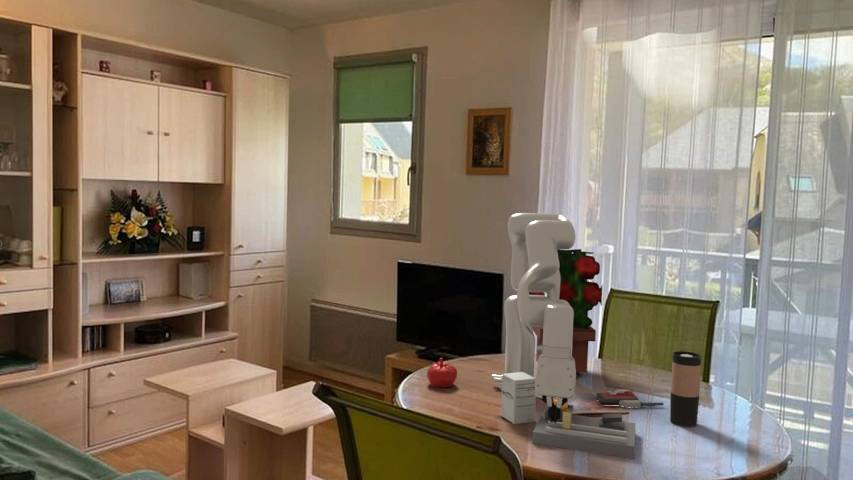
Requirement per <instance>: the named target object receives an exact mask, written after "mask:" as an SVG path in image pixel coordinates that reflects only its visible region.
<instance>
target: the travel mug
mask: <svg viewBox="0 0 853 480" xmlns="http://www.w3.org/2000/svg"><path fill="white" fill-rule="evenodd" d="M672 353H673V354H672V364H671V365H672V366H671V367H672V368H671V378H670V379H671V381H670V382H671V383H670V400H669V401H670V402H669V403H670V405H669V406H670V408H669V410H670V411H669V421H670V423H671V424H673V425H674V426H677V427H678V426H679V427H683V428H693V427H694V428H695V427H696V426H697V425H698V414H699V413H698V412H699V402H700V391H701V390H700V387H701V386H700V385H701V366H702V355H701V354H699V353H696V352H692V351H685V350H678V351H674V352H672Z"/></svg>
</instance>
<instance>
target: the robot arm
mask: <svg viewBox="0 0 853 480" xmlns="http://www.w3.org/2000/svg"><path fill="white" fill-rule="evenodd" d="M507 233H508V236H509V241H510V244H511V249H512V253H511V254H512V255H511V265H510V266H511V267H510V284H511V287H512V289H513V290H514V291H516V294H514V295H513V294H512V295H510V296H509V297H507V298H506V300H504V304H503V305H504V307H503V309H504V317H505V319H504V320H505V352H504V353H505V355H504V374H506V373H516V372H524V373H526V374H528V375H530V376H532V377H534V376H535V377H534V378H536V379H535V394H534V395H535V396H536V398H539V399H542V400H543V402H544V403H545V404H546V407H547V406H548V407H549V408H548V418H550V422H553V421H554V423H557V421H558V419H560V415H561V406H563V405H564V404H565V403H566V402H568V403H571V402H572V403H573V402H576V401H577V395H576V388H577V376H576V370H575V361H574V358H573V357H572V337H573V315H574V313H573V308H572V307H571V306H570V305H569V303H568V302H567V301H565V300H561V299H559V297H560V283H561V277H560V271H559V267H560V265H559V259H558V252H557V249H560V250H571V249H572V248H573V247H574V246H575V243H576V239H577V238H576V231H575V227H574V225H573V223H572V222H571V221H570V220H569V219H568V218H567V217H565V216H564V215H563V214H559V213H539V212H517V213H514V214H512V215H510V217H509V218H508V222H507ZM529 292H544V295H529ZM529 327H530V328H532V327H543V344H542V345H540V346H539V345H537V344H536V337H535V333H534V332H532V331H533V330H532V329H530V328H529ZM537 350H538V351H541V352H542V354H541V355H540V356H539V359H538V362H537V364H536V371H535V357H536V356H535V352H536V351H537ZM502 376H503V374H501V375H498V374H492V375H491V381H493V383H500V384H499V387H498V388H499V390H500V391H501V392H502ZM553 398H558V400H557V403H556V405H555V404H554V402H553Z"/></svg>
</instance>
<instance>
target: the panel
mask: <svg viewBox="0 0 853 480" xmlns="http://www.w3.org/2000/svg"><path fill="white" fill-rule="evenodd" d="M548 408H549V407H548V406H547V405H546V407H545V409H544V410H542V413H541V414H540V416H539V419H538V420H537V422H536V424H535V426H534V429H533V430H532V441H531V442H532V443H531V444H534V445H541V446H548V447H553V448H561V449H568V450H573V451H574V450H575V451H581V452H588V453H594V454H595V453H596V454H603V455H608V456H609V455H610V456H614V455H615V456H616V457H622V458H628V459H629V458H630V459H634V458H635V443H636V422H632V421H631V422H630V421H623V420H622V422H607V423H603V422H602V417H592V416H586V415H580V414H579V415H577V414H574V405H573V404H568V408H569V409H572V424H571V430H567V429H562V422H563V411H561V415H560V419H558V421H557V423H554V421H553V422H550V418H548Z"/></svg>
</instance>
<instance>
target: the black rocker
mask: <svg viewBox="0 0 853 480" xmlns="http://www.w3.org/2000/svg"><path fill="white" fill-rule="evenodd" d="M601 418H602V422H603V423H607V422H622V421H623V413H602V416H601Z"/></svg>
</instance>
